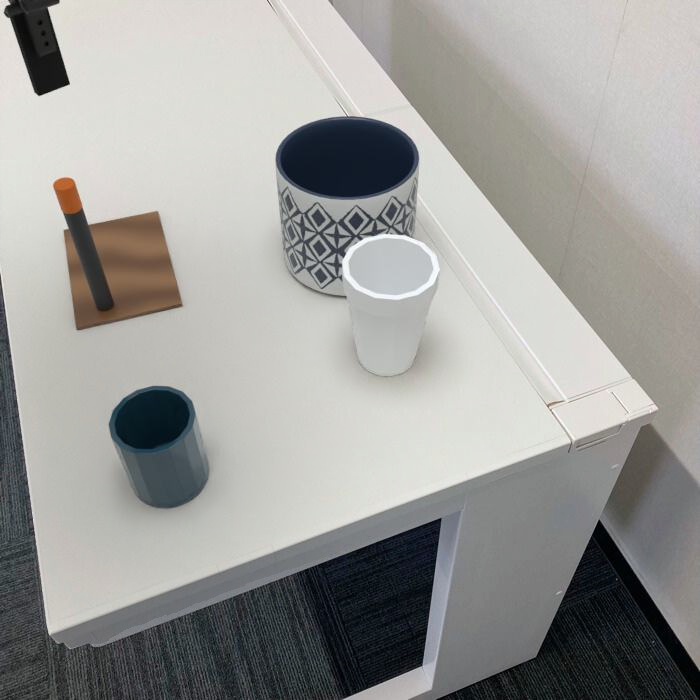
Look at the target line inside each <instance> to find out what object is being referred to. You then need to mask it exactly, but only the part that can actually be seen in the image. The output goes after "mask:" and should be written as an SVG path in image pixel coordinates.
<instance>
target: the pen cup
mask: <svg viewBox="0 0 700 700" xmlns="http://www.w3.org/2000/svg"><path fill="white" fill-rule="evenodd" d="M108 429H109V434H110V439H111V440H112V441H111V442H112V443H113V446H114V448H115V450H116V453H117V456H118V458H119V460H120V462H121V465H122V467H123V470H124V472H125V475H126V477H127V480H128V482H129V485H130V487H131V489H132V490H133V492H134V495H136V497H137V498H138V499H139V500H140V501H141V502H142V503H144V504H147V506H151V507H154V508H157V509H158V508H159V509H170V508H175V507H180V506H182V505H185V504H186V503H188V502H190V501H192V500H193V499H194V498H196V497H197V496H198V495H200V493H201V492H202V491H203V489H204V487H205V486H206V485H207V482H208V479H209V477H210V464H209V460H208V455H207V451H206V448H205V443H204V440H203V436H202V433H201V432H202V431H201V428H200V424H199V420H198V416H197V413H196V409H195V406H194V402H193V401H192V399H191V398H190V396H188V395H187V394H186V393H185V392H184V391H183V390H180V389H178V388H175V387H172V386H170V385H151V386H147V387H142V388H139V389H136V390H134V391H132V392H131V393H130V394H128V395H126V396H124V397H123V398H122V399H121V400H120V401H119V402H118V404H117V405H116V406H115V407H114V409H113V410H112V412H111V415H110V418H109V422H108Z"/></svg>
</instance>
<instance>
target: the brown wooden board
mask: <svg viewBox="0 0 700 700" xmlns="http://www.w3.org/2000/svg"><path fill="white" fill-rule="evenodd" d="M88 225H89V228H90V231H91V234H92V237H93V240H94V243H95V247H96V250H97V253H98V256H99V259H100V262H101V265H102V268H103V271H104V274H105V277H106V280H107V283H108V286H109V289H110V292H111V295H112V298H113V301H114V306H113V308H112V309H110V310H108V311H100V310H98V309H97V307H96V304H95V301H94V299H93V296H92V293H91V290H90V287H89V285H88V282H87V279H86V276H85V273H84V271H83V268H82V265H81V262H80V259H79V257H78V254H77V251H76V248H75V245H74V242H73V240H72V237H71V234H70V231H69V228H66V229H63V237H64V238H63V239H64V245H65V246H64V247H65V253H66V254H65V255H66V261H67V268H68V277H69V283H70V284H69V285H70V291H71V300H72V308H73V314H74V315H73V316H74V322H75V323H74V324H75V328H76V330H77V331H79V330H83V329H88V328H93V327H96V326H101V325H106V324H110V323H113V322H119V321H122V320H128V319H131V318H136V317H140V316H145V315H150V314H154V313H157V312H162V311H166V310H167V311H168V310H171V309H175V308H180V307H183V306H184V305H183V301H182V297H181V294H180V289H179V286H178V282H177V279H176V274H175V271H174V267H173V263H172V260H171V255H170V252H169V251H170V250H169V248H168V244H167V241H166V237H165V233H164V230H163V225H162V222H161V218H160V214H159V211H158V210H155V211H150V212H145V213H141V214H135V215H129V216H125V217H120V218H115V219H109V220H105V221H100V222H95V223H89V224H88Z"/></svg>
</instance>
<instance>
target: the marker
mask: <svg viewBox="0 0 700 700" xmlns="http://www.w3.org/2000/svg"><path fill="white" fill-rule="evenodd" d="M52 188H53V190H54V193H55V196H56V199H57V201H58V205H59V208H60V210H61V212H62V214H63V217H64V220H65V223H66V225H67V229H69V231H70V234H71V237H72V240H73V242H74V245H75V248H76V251H77V254H78V257H79V259H80V262H81V265H82V268H83V271H84V273H85V276H86V279H87V282H88V285H89V287H90V290H91V293H92V296H93V299H94V301H95V304H96V307H97V309H98V310H100V311H108V310H110V309H112V308H113V306H114V301H113V298H112V295H111V292H110V289H109V286H108V283H107V280H106V277H105V274H104V271H103V268H102V265H101V262H100V259H99V256H98V253H97V250H96V247H95V243H94V240H93V237H92V234H91V231H90V228H89V225H90V224H89V223H88V220H87V216H86V214H85V210H84V206H83V203H82V200H81V196H80V194H79V190H78V188H77V184H76V181H75V180H74V179H73V178H71V177H66V176H65V177H60V178H57V179H56V180H55V181H54V182H53V184H52Z"/></svg>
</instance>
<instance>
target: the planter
mask: <svg viewBox="0 0 700 700" xmlns="http://www.w3.org/2000/svg"><path fill="white" fill-rule="evenodd" d="M274 164H275V176H276V187H277V188H276V189H277V199H278V209H279V221H280V230H281V231H280V232H281V241H282V251H283V258H284V262H285V265H286V267H287V269H288V270H289V272H290V273H291V275H292V276H293V277H294V278H296V280H297V281H299V282H300V283H302V285H304V286H306V287H308V288H310V289H311V290H314V291H316V292H317V291H318V292H320V293H322V294H328V295H333V296H341V297H342V296H343V297H346V295H345V294H344V288H343V281H342V261H343V259H344V257H345V255H346V253H347V252H348V250H349V248H350V247H352V246H353V245H355V244H356V243H358V242H360V241H361V240H363V239H364V238H368V237H373V236H377V235H382V234H392V235H404V236H408V237H410V238H413V239H415V231H416V219H417V218H416V216H417V204H418V189H419V177H420V176H419V174H420V153H419V149H418V147H417V144H416V143H415V142H414V140H413V139H412V138H411V136H409V135H408V134H407V133H406V132H404V131H403V130H402V129H400V128H398V127H396V126H395V125H393V124H391V123H388V122H385V121H383V120H379V119H376V118H370V117H364V116H353V115H347V116H345V115H343V116H341V115H340V116H332V117H326V118H321V119H317V120H314V121H310V122H308V123H305V124H303V125H301V126H300V127H297V128H296V129H294V130H293V131H291V132H290V133H289V134H288V135H286V136H285V137H284V138H283V139H282V140H281V143H280V144H279V145H278V146H277V150H276V152H275V157H274Z"/></svg>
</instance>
